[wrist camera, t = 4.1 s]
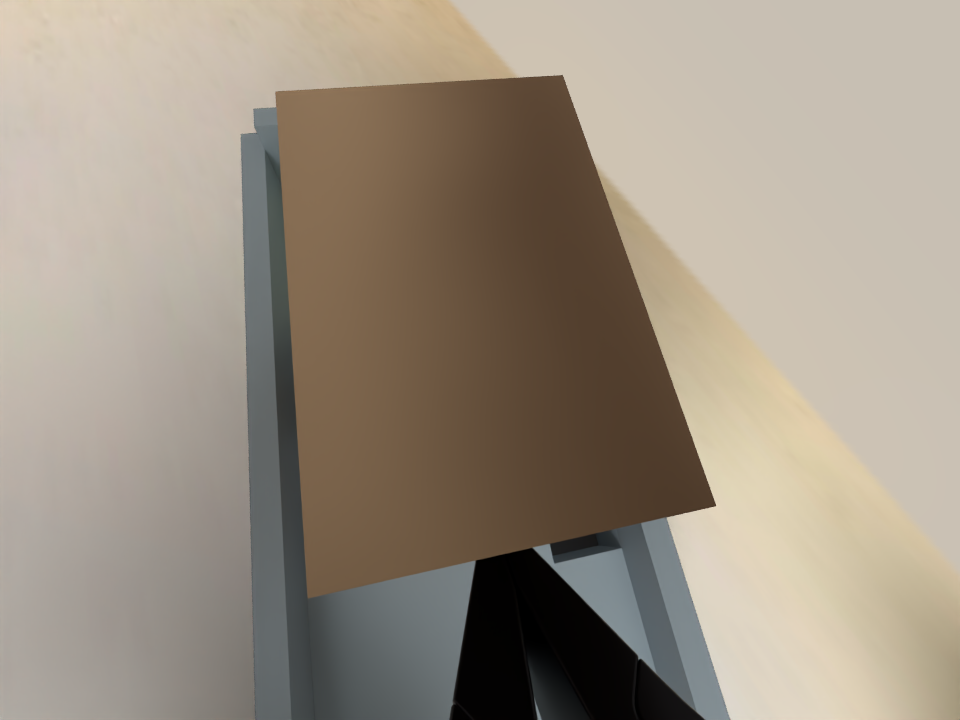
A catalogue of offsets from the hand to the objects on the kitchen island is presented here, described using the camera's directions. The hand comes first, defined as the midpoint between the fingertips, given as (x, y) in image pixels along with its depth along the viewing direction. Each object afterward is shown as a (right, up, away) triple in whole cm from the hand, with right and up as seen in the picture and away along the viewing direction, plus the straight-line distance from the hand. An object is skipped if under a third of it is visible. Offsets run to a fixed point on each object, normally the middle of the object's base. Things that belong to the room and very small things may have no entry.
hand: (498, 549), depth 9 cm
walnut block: (-2, +2, +6) cm, 6 cm away
